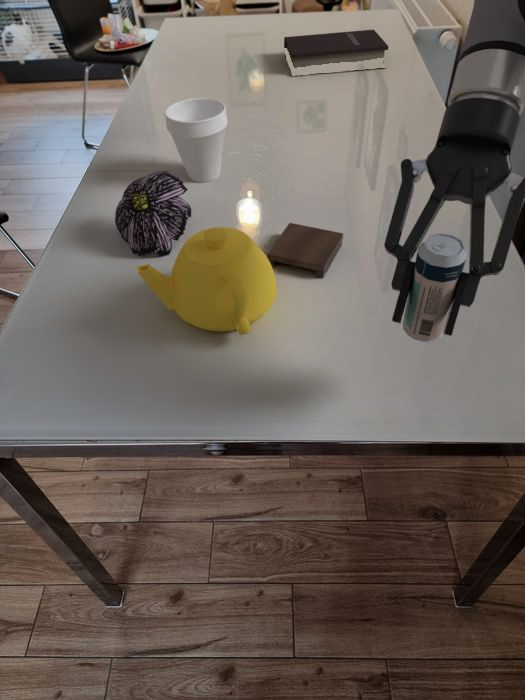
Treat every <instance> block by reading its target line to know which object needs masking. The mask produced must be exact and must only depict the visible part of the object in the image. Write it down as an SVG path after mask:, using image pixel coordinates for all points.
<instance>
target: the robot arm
mask: <svg viewBox="0 0 525 700" xmlns="http://www.w3.org/2000/svg"><path fill="white" fill-rule="evenodd" d="M524 109H525V0H474V1H473V6H472V11H471V15H470V18H469V23H468V25H467V30H466V34H465V38H464V42H463V46H462V48H461V53H460V58H459V62H458V64H457V66H456V70H455V74H454V77H453V80H452V84H451V88H450V91H449V94H448V99H447V107H446V109H445V110H444V114H443V117H442V120H441V123H440V128H439V131H438V135H437V138H436V142H435V145H434V147H433V149H432V150H431V151H430V152H429V154H428V155H427V157H426V158H424V159H419V160H418V159H417V160H413V161H412V160H411V159H410V158H404V159H403V160H401V163H400V175H401V183H400V186H399V190H398V194H397V197H396V201H395V204H394V208H393V212H392V215H391V218H390V222H389V226H388V228H387V229H388V230H387V233H386V236H385V239H384V249H385V251H386V253H387V254H388V255H391V256H392V257H394V258H395V259H396V261H397V262H396V265H395V269H394V272H393V277H392V279H391V289H392V291H395V292H396V291H397V292H399V293H398V295H397V296H398V297H397V300H396V304H395V306H394V310H393V314H392V318H391V321H392V322H393V323H398V324H401V323H402V320H403V317H404V313H405V310H406V305H407V300H408V295H409V291H410V286H411V281H412V277H413V272H414V267H415V261H412V260H413V258H414V256H415V254H417V253H416V252H418V248H419V246H420V245H421V244H422V243H423V241H424V238H425V236H426V235H427V233H428V232H429V229H430V228H431V226H432V224H433V222H435V221H434V220H435V219H436V217H437V215H438V213H439V211H441V209H442V207H443V206H444V204H445V203H446V201H447V202H454V201H456V202H458V201H459V202H460V203H463V204H466V205H469V207H470V208H469V215H470V217H469V218H470V221H469V260H468V261H469V263H468V272H465V271H462V274H461V277H460V280H459V284H458V287H457V291H456V294H455V297H454V301H453V304H452V308H451V311H450V315H449V318H448V322H447V325H446V329H445V332H444V334H443V335H446V336H449V337H451V336H452V335H453V333H454V330H455V325H456V322H457V319H458V315H459V312H460V308H461V306H462V307H467V308H470V307H472V304H473V303H474V302H475V298H476V295H477V291H478V288H479V285H480V282H481V279H482V278H484V277H488V276H498V275H499V274H501V272H502V271H503V270H504V267H505V264H506V261H507V257H508V254H509V251H510V247H511V244H512V241H513V237H514V234H515V230H516V227H517V223H518V220H519V217H520V213H521V210H522V207H523V202H524V201H525V176H523V175H520V174H519V173H517V172H514V171H513V170H512V169H513V166H512V162H511V154H512V151H513V147H514V144H515V141H516V138H517V134H518V130H519V128H520V124H521V121H522V120H521V114H522V113H523V111H524ZM425 172H427V173H428V175H429V176H428V177H429V178H430V180H431V183H432V185H433V190H432V192H431V194H430V195H429V199H428V200H427V201H426V204H425V205H424V208H423V209H422V211H421V213H420V215H419V216H418V218H417V220H416V222H415V224H414V226H413V227H412V229H411V231H410V233H409V234H408V236H407V237H406V239H405V242H404V244H403V245H401V244H400V242H401V238H402V234H403V230H404V227H405V225H406V220H407V216H408V212H409V209H410V205H411V202H412V198H413V195H414V191H415V184H417V183H419V182H420V181H421V180H422V176H423V174H424V173H425ZM504 183H505V184H506V187H507V188H506V191H505V195H506V197H507V198H509V200H508V202H507V204H506V208H505V211H504V214H503V218H502V222H501V223H500V227H499V232H498V234H497V239H496V242H495V246H494V248H493V252H492V255H491V259H490V261H485V260H484V259H485V223H486V222H485V215H486V201H487V200H486V198H487V197H488V196H489V195H490V194H492V193H493V192H495V190H496V189H498V188H499V187H501V186H502V185H504ZM484 261H485V262H484Z"/></svg>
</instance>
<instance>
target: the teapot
mask: <svg viewBox="0 0 525 700" xmlns="http://www.w3.org/2000/svg"><path fill="white" fill-rule="evenodd" d="M273 268H274V267H272V266H271V264H270V262H269V260H268V257H267V254H265V253H264V251H263V250H262V248H261V247H260V246H259V245H258V244H257V243H256V242H255V240H253V239H252V238H251V237H250V236H249V235H248V234H247V233H245V232H244V231H242V230H240V229H237V228H234V227H228V226H214V227H210V228H205V229H203V230H200V231H198V232H196V233H194V234H193V235H191V236H190V237H189V238H187V240H186V241H185V242H184V244H183V245H182V246H181V248H180V250H179V252H178V254H177V256H176V258H175V260H174V263H173V265H172V268H171V272H170V275H169V277H168V276H166V275H165V274H163V273H162V272H161V271H159V270H158V269H156V267H153V266H152V265H151V263H147V264H146V263H145V264H143V265H138V266H136V270H137V274H138V276H139V277H140V278H141V279H142V280H143V281H144V282H145V284H146V285H147V286H148V287H149V288H150V289H151V291H152V292H153V293H154V294H155V295H156V296H157V297H158V299H159V300H160V301H161V302H162V303H163V304H164V305H165V306H166V308H167V309H168V310H169V311H174V312H175V313H176V314H177V316H178V317H180V318H181V320H183V321H184V322H186V323H187V324H189V325H191V326H194V327H196V328H198V329H201V330H205V331H208V332H209V331H210V332H216V333H217V332H221V333H222V332H233V331H236V332H237V334H239V335H247V334H249V333H250V332H251V331H252V326H251V324H253V323H255V322H256V321H258V320H259V319H261V318H262V317H263V316H264V315H265V314H267V313H268V311H269V310H270V309H271V308H272V307H273V304H274V302H275V299H276V298H277V295H278V294H277V293H278V286H277V285H278V284H277V279H276V275H275V271H274V269H273Z"/></svg>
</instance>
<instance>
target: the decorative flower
mask: <svg viewBox="0 0 525 700" xmlns="http://www.w3.org/2000/svg"><path fill="white" fill-rule="evenodd" d="M188 190H189V189H188V188H187V187H186V186H185V184H184V181H183V180H180V178H179V177H176V176H175V175H174V174H171V173H170V172H169V170H168V171H167V170H160V171H155V172H153V173H149V174H148V175H146V176H144V177H139V178H137V179H135V180H133V181H132V182H130V183H129V184H128V186H127V187H126V188H125V190H124V191H123V194H122V196H121V199H120V200H119V202H118V204H117V206H116V209H115V213H114V223H115V227H116V230H117V232H118V233H119V235H120V237H121V239H123V241H125V243H127V244H129V247H130V250H131V252H132V255H138V256H139V257H142V256H143V257H144V256H146V255H150V254H153V255H157V257H158V258H161V257H165V256H168V255H170V254H171V252H172V248H173V243H172V240H173V241H179V239H180V237H181V236H183V235H184V234H185V233H184V232H185V231H186V226H187V221H188V220H189V218H192V207H191V205H190V204H189V203H188V202H187V201H186V200H185V199H183V198H182V197H181V196H182V195H184V194H185V193H186V192H187V191H188Z"/></svg>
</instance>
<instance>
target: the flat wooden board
mask: <svg viewBox="0 0 525 700" xmlns="http://www.w3.org/2000/svg"><path fill="white" fill-rule="evenodd" d="M343 239H344V233H343V232H340V231H339V232H337V231H333V230H328V229H323V228H318V227H313V226H308V225H304V224H298V223H294V222H289V223H288V224H287V226H286V227H285V228H284V230H283V231H282V233H281V234H280V235H279V237H278V238H277V239H276V241H275V242H274V243H273V245H272V246H271V248H270V249H269V251H268V252H267V254H266V256H267V258H268V260H269V262H270V264H271V266H272V268H275V267H276V266H277V265H278V264H279V263H281V264H286V265H290V266H295V267H298V268H303V269H308V270H313V271H315V272H316V275H315V276H316V278H319V279H324V278H325V276H326V274H327V272H328V270H329V268H330V267H331V265H332V264H333V261H334V260H335V258H336V256H337V255H338V252H339V251H340V249H341V247H342V245H343Z"/></svg>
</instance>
